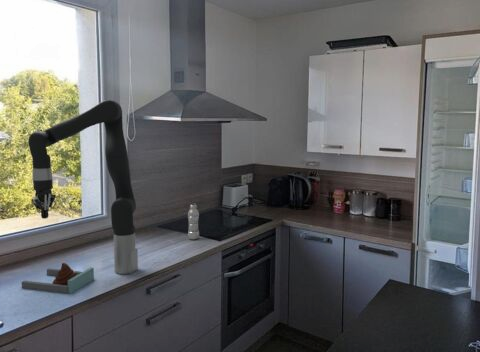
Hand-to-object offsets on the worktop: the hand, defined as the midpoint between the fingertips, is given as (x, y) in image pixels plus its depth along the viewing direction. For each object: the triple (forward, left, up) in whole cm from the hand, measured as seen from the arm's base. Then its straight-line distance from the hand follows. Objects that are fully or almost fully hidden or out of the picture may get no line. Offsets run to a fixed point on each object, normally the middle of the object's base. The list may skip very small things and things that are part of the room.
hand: (45, 218), depth 178 cm
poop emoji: (-17, +10, -25) cm, 32 cm away
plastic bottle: (-44, -65, -25) cm, 83 cm away
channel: (-12, +10, -24) cm, 29 cm away
